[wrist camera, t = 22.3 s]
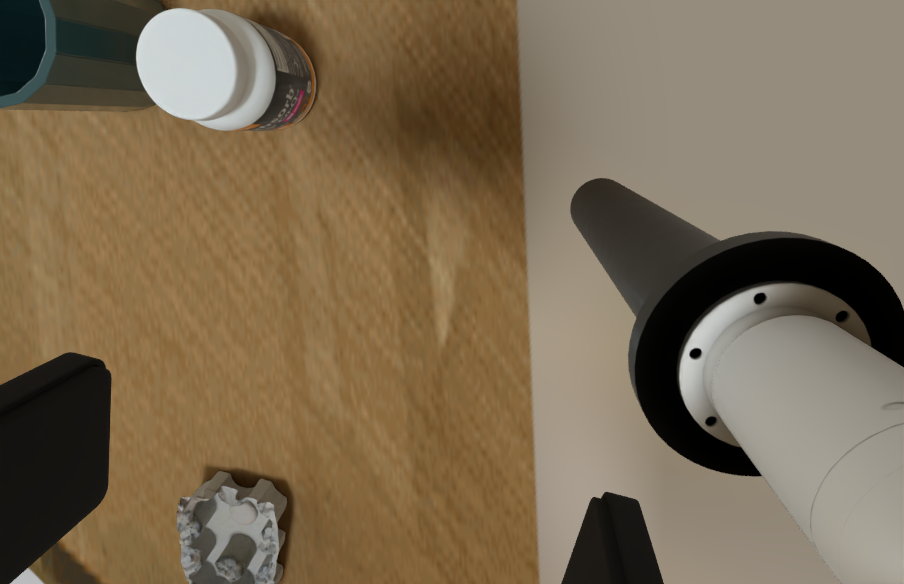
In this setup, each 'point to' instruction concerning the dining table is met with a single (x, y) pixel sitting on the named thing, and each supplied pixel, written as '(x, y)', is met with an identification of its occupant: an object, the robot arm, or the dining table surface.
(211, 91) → the pill bottle
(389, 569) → the dining table surface
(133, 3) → the cup
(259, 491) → the egg carton
